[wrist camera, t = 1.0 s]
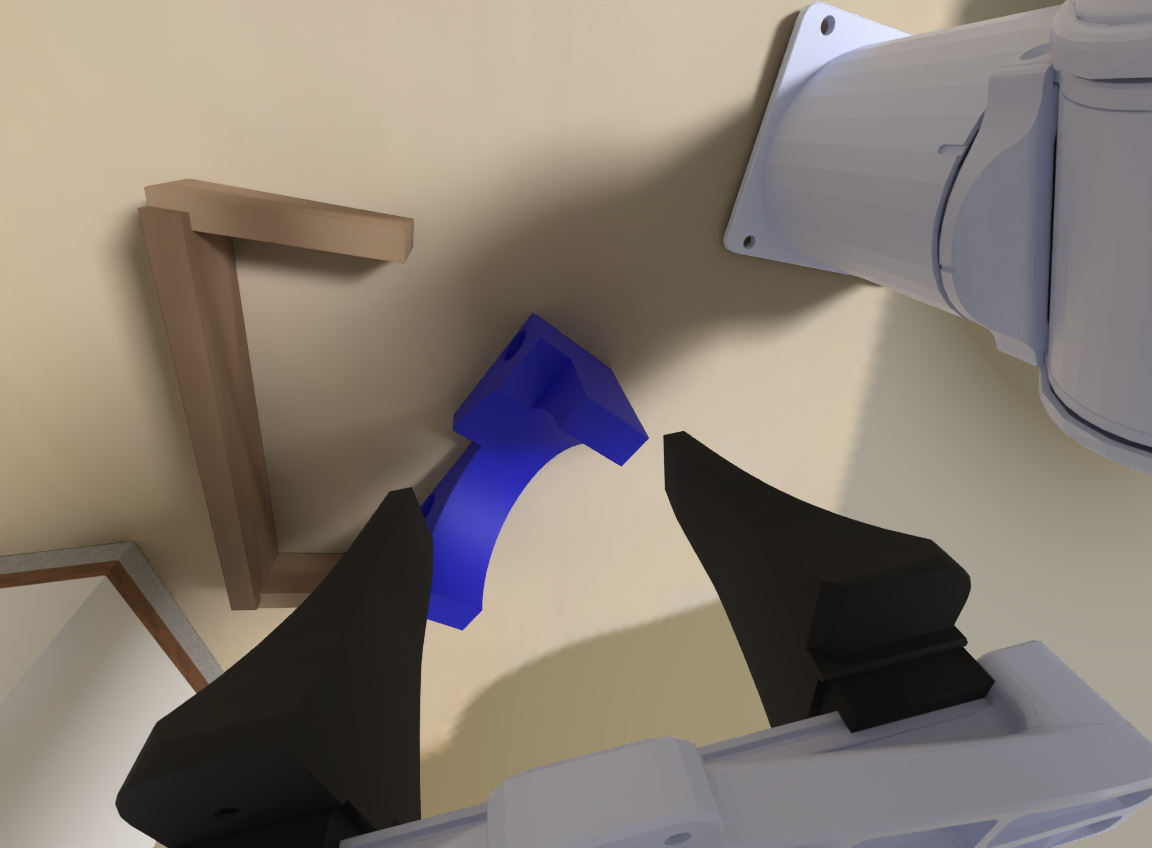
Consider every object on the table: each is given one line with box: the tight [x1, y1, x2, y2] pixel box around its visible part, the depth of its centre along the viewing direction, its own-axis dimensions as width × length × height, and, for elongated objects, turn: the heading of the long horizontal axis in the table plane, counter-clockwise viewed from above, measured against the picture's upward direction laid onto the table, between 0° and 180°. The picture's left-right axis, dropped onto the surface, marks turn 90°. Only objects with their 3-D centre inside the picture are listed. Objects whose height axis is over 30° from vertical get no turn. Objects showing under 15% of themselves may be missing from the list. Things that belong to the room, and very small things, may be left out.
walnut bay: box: [138, 179, 414, 610], centre depth 20 cm, size 7×18×3 cm, turn 169°
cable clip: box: [420, 313, 649, 630], centre depth 21 cm, size 12×4×6 cm, turn 140°
